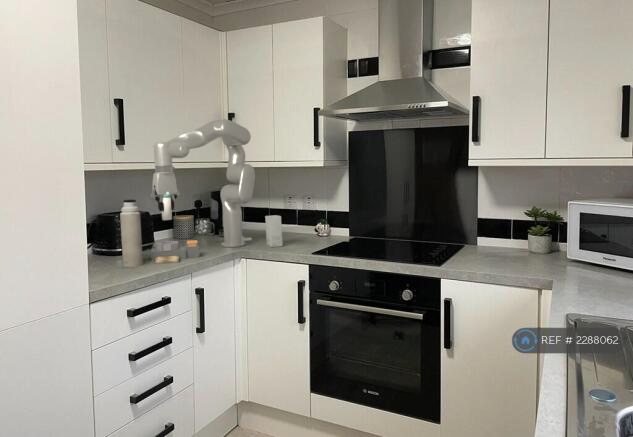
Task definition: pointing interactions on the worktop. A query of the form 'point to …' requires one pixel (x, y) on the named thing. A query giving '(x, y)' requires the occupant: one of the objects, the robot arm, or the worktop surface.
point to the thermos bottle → (131, 234)
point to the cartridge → (167, 207)
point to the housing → (174, 250)
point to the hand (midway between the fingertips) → (166, 209)
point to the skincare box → (273, 231)
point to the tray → (167, 259)
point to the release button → (192, 243)
